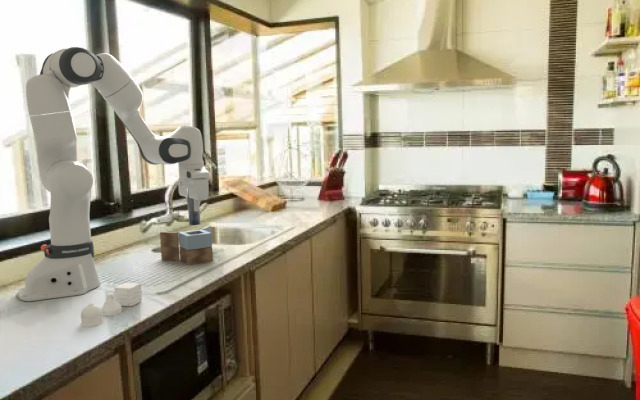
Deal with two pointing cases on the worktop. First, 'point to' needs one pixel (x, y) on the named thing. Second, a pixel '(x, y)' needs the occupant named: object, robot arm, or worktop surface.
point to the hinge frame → (182, 250)
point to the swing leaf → (196, 238)
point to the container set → (112, 304)
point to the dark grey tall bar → (192, 212)
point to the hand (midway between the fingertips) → (193, 210)
